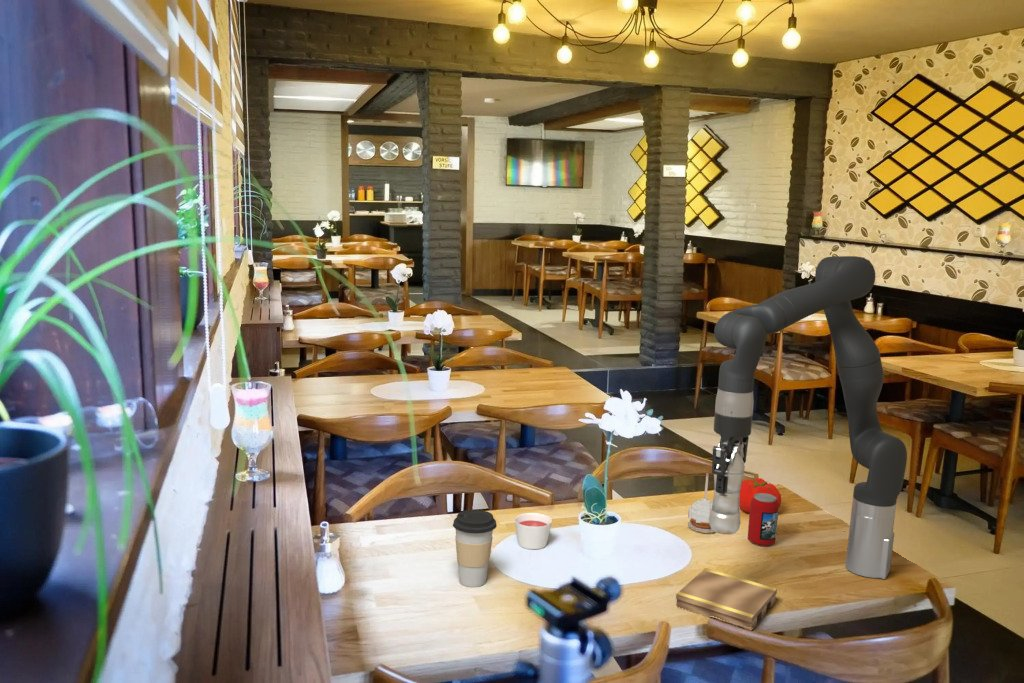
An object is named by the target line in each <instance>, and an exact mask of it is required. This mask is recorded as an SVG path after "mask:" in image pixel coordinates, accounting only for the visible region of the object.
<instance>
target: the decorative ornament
mask: <svg viewBox="0 0 1024 683" xmlns="http://www.w3.org/2000/svg"><path fill="white" fill-rule="evenodd" d="M709 476H710V475H709V473H705V484H704V494H703V496H704V497H703V498H700V499H699V500H697V499H696V500H695V501H693V503H691V504H690V505H691V506H690V507H688V515H687V516H688V520H689V521H687V528H690V530H693V531H695V532H699V533H704V534H710V533H715V532H714V531H713V530H712V529H711V527H710V524H709V516H710V512H711V509H712V504H713V501H710V499H709V498H708V487H709V486H708V485H709Z"/></svg>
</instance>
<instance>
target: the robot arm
mask: <svg viewBox="0 0 1024 683" xmlns="http://www.w3.org/2000/svg"><path fill="white" fill-rule="evenodd" d="M814 276H815V281H814V282H812V283H808V284H804V285H801V286H797V287H794V288H791V289H787V290H785V291H780V292H779V293H777V294H775V295H773V296H771V297H769V298H767V299H765V300H763V301H761V302H760V303H757V304H756V303H755V304H753V305H747V306H743V307H740V308H737V309H734V310H731V311H729V312H727V313H725V314H723V315H722V316H721V317H720V318H719V319H718V320H717V322H716V324H715V325H714V330H713V331H714V332H713V333H714V337H715V339H716V341H717V342H718V343H719V344H720V345H722V346H724V347H726V348H730V349H734V350H736V351H735V354H734V357H733V359H727V360H724V361H723V362H721V364H720V367H719V371H718V384H717V385H718V386H717V393H716V397H715V404H714V405H715V407H714V419H713V432H714V433H715V434H717V435H718V436H720V440H719V442H718V446H716V445H714V446H713V447H712V458H711V459H712V461H711V462H712V464H711V473H712V475H714V474H716V475H717V478H716V492H717V493H721V494H725V493H727V486H728V475H729V470H730V467H732V466H733V465H734V461H735V457H736V454H737V453H739V455H740V456H741V458H742V460H743V462H744V464H745V463H746V462H747V455H748V454H747V453H748V447H749V446H748V445H749V436H750V435H751V434H752V427H753V426H752V425H753V424H752V423H753V414H754V386H755V384H754V383H755V373H756V369H757V367H758V365H759V363H760V359H761V357H762V354H763V351H764V348H765V345H766V341H767V335H771V334H772V335H774V334H776V333H778V332H780V331H782V330H784V329H786V328H788V327H790V326H792V325H794V324H795V323H797V322H798V323H799V321H801V320H804V319H806V318H808V317H809V316H811V315H814V314H816V313H819V312H821V311H823V312H824V315H825V318H826V322H827V325H828V326H827V327H828V329H829V334H830V337H831V341H832V346H833V351H834V356H835V362H836V369H837V372H838V376H839V381H840V384H841V388H842V389H841V390H842V393H843V400H844V403H845V404H844V405H845V409H846V414H847V422H848V435H849V444H850V445H849V447H850V452H851V455H852V457H853V458H854V460H855V462H856V463H858V464H859V465H860V466H862V467H864V468H865V469H868V474H867V479H866V481H861V482H858V483H856V484H855V485H854V487H853V493H852V494H853V495H852V503H851V513H850V522H849V529H848V530H849V531H848V540H847V547H846V557H845V568H846V569H847V570H848V571H849V572H851V573H853V574H856V575H858V576H862V577H866V578H873V579H883V580H886V578H887V577H888V575H889V573H890V572H891V565H892V557H893V549H894V541H895V540H894V538H895V532H894V527H895V526H894V525H895V517H896V510H897V509H896V508H897V499H898V497H899V495H900V494H901V491H902V490H903V485H904V479H905V474H906V468H907V461H908V450H907V447H906V444H905V443H904V442H903V440H902V439H900V438H898V437H897V436H894V435H892V434H889V433H888V432H884V431H883V429H882V426H881V422H880V419H879V416H878V415H879V414H878V409H877V408H878V406H877V404H878V401H879V400H878V399H879V397H880V394H881V392H882V388H883V384H884V378H885V377H884V376H885V375H884V369H883V364H882V363H883V362H882V358H881V354H880V350H879V348H878V345H877V344H876V342H875V341H874V339H873V337H872V336H871V334H869V332H868V331H867V330H866V329H865V327H864V326H863V325H862V323H861V322H860V321H859V319H858V318H857V315H855V314H856V313H855V312H854V309H853V306H852V302H851V301H853V300H857V299H860V298H862V297H865V296H866V295H868V294H869V293H870V291H872V288H873V287H874V285H875V282H876V270H875V267H874V265H873V263H872V262H871V261H870V260H869V259H868V258H864V257H862V256H857V255H856V256H855V255H852V256H851V255H849V256H848V255H846V256H845V255H844V256H843V255H842V256H840V255H839V256H837V255H836V256H827V257H826V256H825V257H824V258H822V259H820V261H819V262H818V264H817V266H816V268H815V273H814ZM739 441H740V451H738V450H739V445H735V444H734V443H738V442H739ZM726 459H730V461H726ZM720 466H721V469H720Z"/></svg>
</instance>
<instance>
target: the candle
mask: <svg viewBox="0 0 1024 683" xmlns="http://www.w3.org/2000/svg"><path fill="white" fill-rule="evenodd" d="M552 523H553V519H552V518H551V517H550V516H548V515H546V514H542V513H538V512H526V513H520V514H518V515H517V516H516V515H515V517H514V524H515V530H516V538H517V543H518V545H519V547H521V548H523V549H527V550H541V549H544V548H546V546H547V543H548V538H549V535H550V531H551V526H552Z"/></svg>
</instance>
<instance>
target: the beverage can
mask: <svg viewBox="0 0 1024 683" xmlns="http://www.w3.org/2000/svg"><path fill="white" fill-rule="evenodd" d="M779 508H780V507H779V504H778V502H777V500H776V497H775V496H773V495H770V494H765V493H758V494H755V495H754V497H753V499H752V500H751V504H750V513H749V514H748V515H749V517H748V529H747V540H749V541H750V542H751V543H752V544H754V545H756V546H758V545H759V546H760V547H770V546H771V545H773V544H775V542H776V539H777V538H776V537H777V528H778V518H779Z"/></svg>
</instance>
